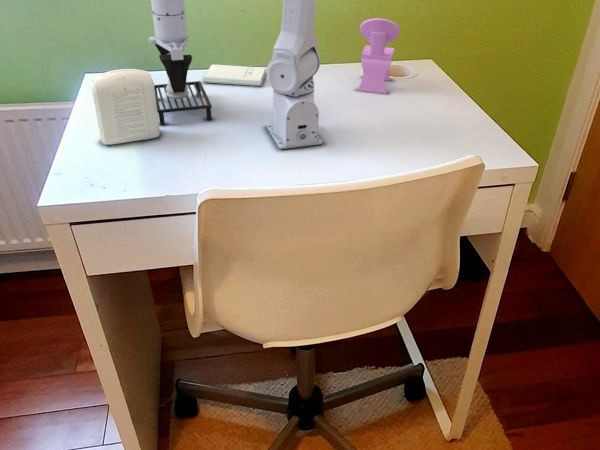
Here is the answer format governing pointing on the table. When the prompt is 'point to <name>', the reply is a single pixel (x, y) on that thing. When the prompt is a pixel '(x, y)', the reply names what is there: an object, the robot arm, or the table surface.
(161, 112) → the rack
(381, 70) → the toy chair
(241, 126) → the table surface
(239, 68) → the hard drive
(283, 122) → the robot arm
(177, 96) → the rook chess piece
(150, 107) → the photo printer
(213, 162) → the table surface
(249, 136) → the table surface
